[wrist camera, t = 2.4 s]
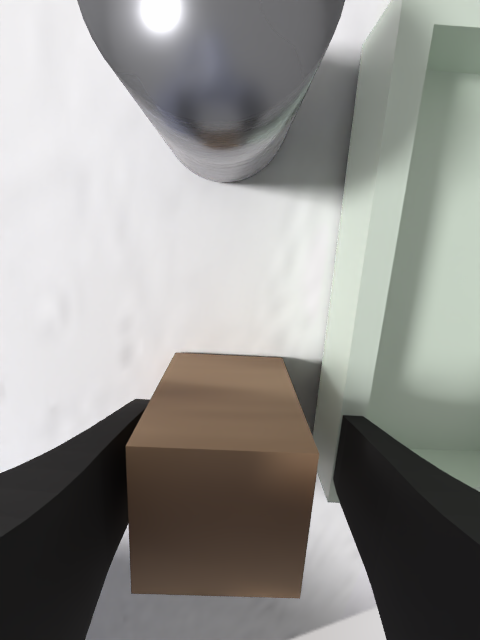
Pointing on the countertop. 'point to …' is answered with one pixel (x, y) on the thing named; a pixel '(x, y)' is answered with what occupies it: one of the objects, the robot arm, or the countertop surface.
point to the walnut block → (221, 481)
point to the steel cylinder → (216, 71)
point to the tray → (410, 245)
